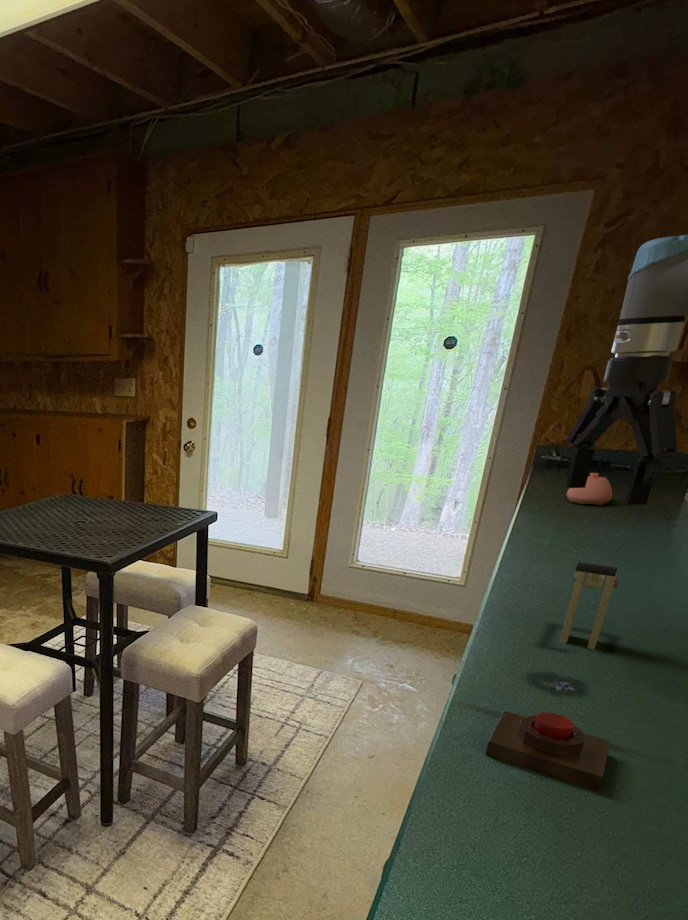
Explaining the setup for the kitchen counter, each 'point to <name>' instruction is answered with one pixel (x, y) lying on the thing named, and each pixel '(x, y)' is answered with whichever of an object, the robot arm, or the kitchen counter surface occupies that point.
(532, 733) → the brown button housing
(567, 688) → the blueberries
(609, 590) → the light wood frame
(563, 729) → the button
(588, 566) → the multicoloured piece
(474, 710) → the kitchen counter surface
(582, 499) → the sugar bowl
